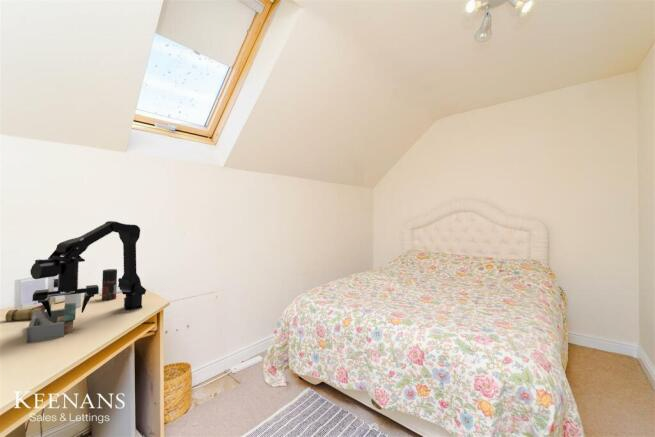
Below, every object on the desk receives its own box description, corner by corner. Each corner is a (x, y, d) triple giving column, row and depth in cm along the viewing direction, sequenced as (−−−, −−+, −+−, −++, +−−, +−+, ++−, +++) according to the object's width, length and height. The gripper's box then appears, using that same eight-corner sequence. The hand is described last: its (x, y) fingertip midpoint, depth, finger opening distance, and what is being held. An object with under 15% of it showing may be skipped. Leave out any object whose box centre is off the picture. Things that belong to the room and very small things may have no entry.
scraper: (75, 321, 119) (76, 299, 119) (74, 332, 108) (75, 308, 108) (57, 324, 115) (58, 301, 115) (54, 336, 105) (55, 311, 105)
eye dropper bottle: (67, 306, 135) (67, 281, 135) (82, 305, 138) (83, 280, 138) (63, 309, 131) (63, 283, 131) (78, 308, 134) (79, 282, 134)
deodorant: (104, 297, 152) (105, 269, 152) (117, 297, 154) (118, 268, 154) (99, 300, 146) (100, 271, 146) (113, 300, 148) (114, 271, 148)
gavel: (37, 300, 135) (64, 299, 138) (36, 310, 134) (63, 308, 138) (5, 311, 115) (37, 309, 118) (4, 323, 115) (36, 321, 118)
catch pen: (65, 320, 119) (65, 308, 119) (63, 336, 104) (64, 322, 104) (33, 325, 113) (34, 312, 113) (26, 343, 98) (27, 328, 98)
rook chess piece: (45, 327, 110) (36, 308, 108) (57, 324, 111) (49, 305, 109) (35, 334, 106) (26, 314, 104) (48, 330, 106) (39, 311, 105)
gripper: (98, 269, 124) (96, 305, 124) (36, 273, 112) (35, 313, 112) (99, 273, 115) (98, 312, 115) (33, 278, 103) (31, 322, 103)
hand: (66, 314), depth 112 cm, fingers open, 9 cm apart
